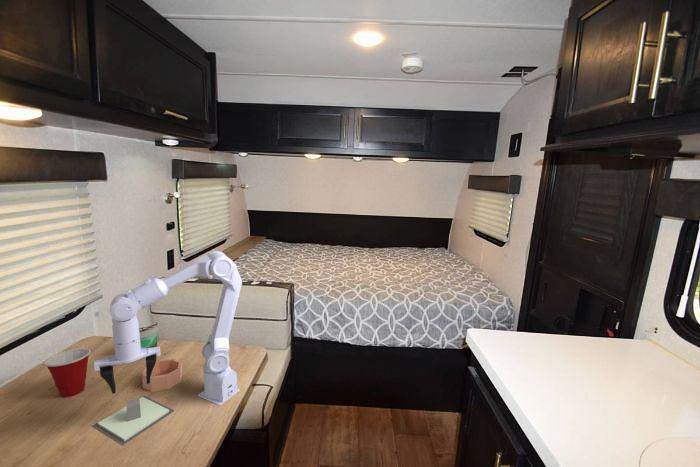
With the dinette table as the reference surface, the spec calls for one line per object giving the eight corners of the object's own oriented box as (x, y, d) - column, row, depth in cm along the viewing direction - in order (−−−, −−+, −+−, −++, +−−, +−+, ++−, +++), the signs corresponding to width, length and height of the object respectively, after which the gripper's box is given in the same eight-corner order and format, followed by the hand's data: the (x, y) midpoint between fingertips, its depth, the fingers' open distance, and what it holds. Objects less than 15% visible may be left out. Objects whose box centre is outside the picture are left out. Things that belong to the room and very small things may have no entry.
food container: (130, 363, 117) (128, 337, 115) (123, 357, 120) (121, 332, 119) (166, 350, 126) (164, 325, 125) (159, 345, 130) (157, 321, 129)
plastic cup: (89, 376, 109) (85, 342, 107) (99, 389, 102) (95, 354, 100) (45, 392, 101) (40, 355, 99) (52, 408, 94) (47, 369, 92)
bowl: (188, 378, 109) (188, 364, 108) (158, 396, 100) (157, 381, 99) (167, 369, 114) (167, 356, 113) (136, 385, 104) (135, 371, 104)
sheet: (169, 411, 93) (168, 396, 92) (124, 441, 82) (122, 424, 81) (142, 398, 98) (141, 384, 97) (97, 424, 87) (95, 409, 86)
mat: (174, 411, 93) (174, 410, 93) (122, 446, 81) (122, 445, 81) (144, 396, 99) (144, 395, 99) (91, 427, 87) (91, 425, 87)
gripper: (157, 327, 94) (161, 371, 96) (93, 340, 86) (98, 387, 88) (159, 337, 88) (163, 383, 90) (91, 351, 80) (96, 402, 82)
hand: (131, 386), depth 88 cm, fingers open, 7 cm apart
